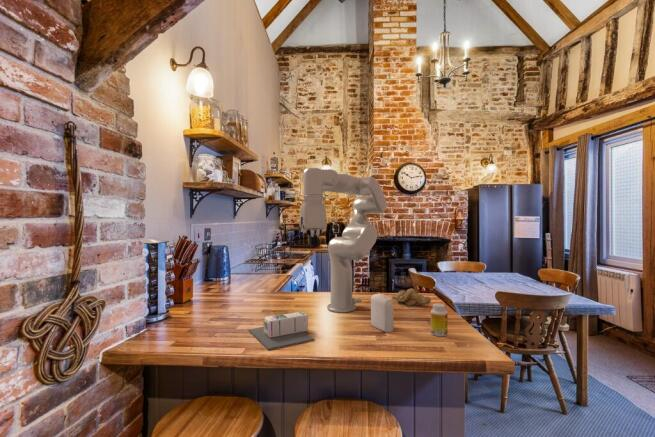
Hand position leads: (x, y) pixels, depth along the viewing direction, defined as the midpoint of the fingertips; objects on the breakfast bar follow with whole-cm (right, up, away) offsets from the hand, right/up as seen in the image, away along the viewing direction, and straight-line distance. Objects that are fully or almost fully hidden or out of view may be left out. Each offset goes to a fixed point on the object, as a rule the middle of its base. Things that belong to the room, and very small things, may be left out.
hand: (313, 246), depth 134 cm
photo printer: (+25, -29, -9) cm, 40 cm away
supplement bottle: (+44, -29, -16) cm, 55 cm away
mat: (-11, -29, -16) cm, 35 cm away
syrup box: (-3, -26, -11) cm, 28 cm away
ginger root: (+44, -29, +25) cm, 58 cm away
